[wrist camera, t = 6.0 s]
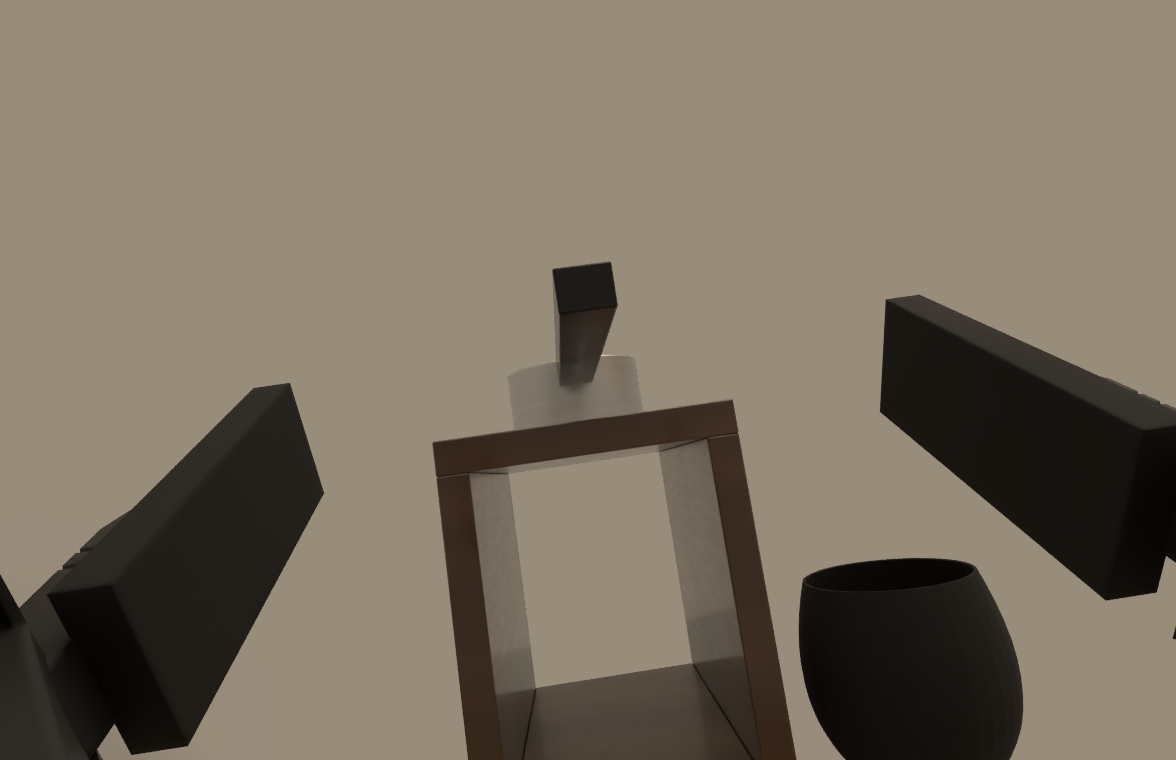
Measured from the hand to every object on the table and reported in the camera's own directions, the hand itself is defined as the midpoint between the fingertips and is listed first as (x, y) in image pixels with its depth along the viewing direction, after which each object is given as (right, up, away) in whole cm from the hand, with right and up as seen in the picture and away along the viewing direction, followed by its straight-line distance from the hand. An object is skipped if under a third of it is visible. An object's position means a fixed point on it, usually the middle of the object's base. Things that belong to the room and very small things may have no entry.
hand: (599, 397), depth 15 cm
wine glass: (+19, -30, +18) cm, 40 cm away
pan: (0, -2, +20) cm, 20 cm away
